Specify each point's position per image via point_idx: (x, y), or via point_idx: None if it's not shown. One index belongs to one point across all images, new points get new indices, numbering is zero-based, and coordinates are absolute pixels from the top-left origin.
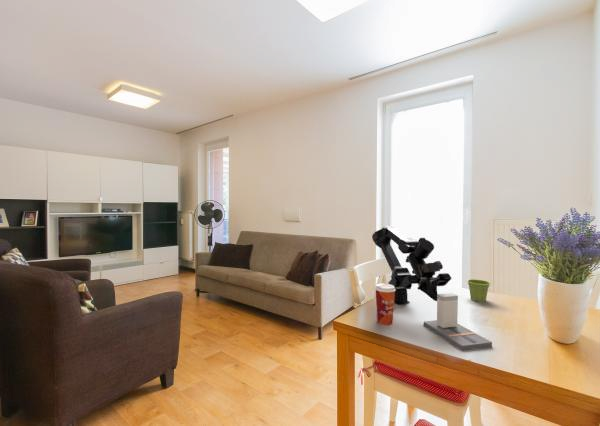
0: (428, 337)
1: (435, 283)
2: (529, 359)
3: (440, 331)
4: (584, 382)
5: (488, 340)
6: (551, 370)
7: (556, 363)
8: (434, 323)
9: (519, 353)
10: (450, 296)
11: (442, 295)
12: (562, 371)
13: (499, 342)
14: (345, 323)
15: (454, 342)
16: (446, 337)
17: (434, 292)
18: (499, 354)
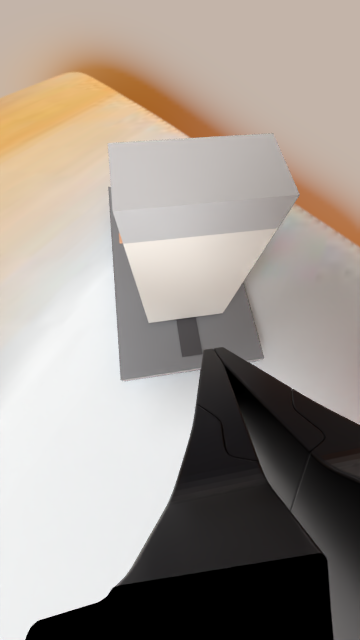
0: (275, 265)
1: (222, 516)
2: (71, 147)
3: None
4: (49, 88)
5: (110, 195)
6: (68, 116)
7: (25, 131)
8: (222, 333)
9: (67, 168)
10: (193, 140)
11: (260, 162)
12: (48, 111)
13: (64, 218)
14: None
15: None
16: None
17: (233, 395)
18: None
